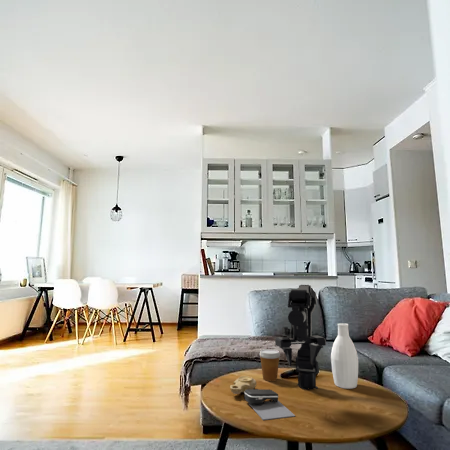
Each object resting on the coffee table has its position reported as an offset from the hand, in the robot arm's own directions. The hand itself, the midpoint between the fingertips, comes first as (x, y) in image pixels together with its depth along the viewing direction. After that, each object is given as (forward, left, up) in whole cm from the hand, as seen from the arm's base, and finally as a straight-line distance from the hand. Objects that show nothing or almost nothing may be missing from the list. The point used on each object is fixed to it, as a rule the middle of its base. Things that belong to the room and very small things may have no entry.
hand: (301, 365), depth 126 cm
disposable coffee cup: (+1, -28, -13) cm, 31 cm away
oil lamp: (+18, -15, -13) cm, 27 cm away
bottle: (-27, -12, -13) cm, 32 cm away
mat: (+14, +4, -13) cm, 20 cm away
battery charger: (+9, -3, -12) cm, 15 cm away
